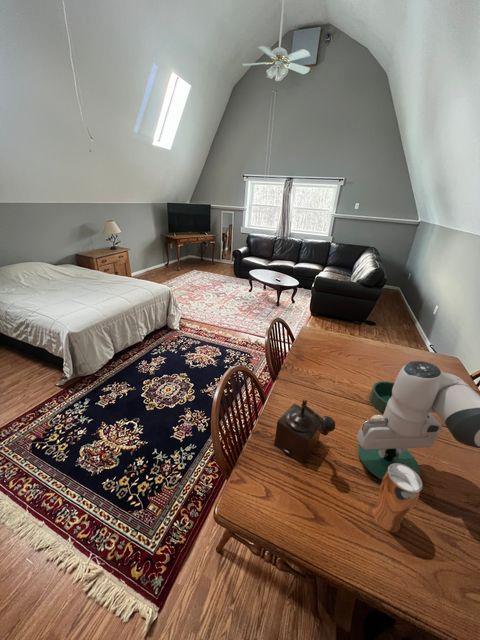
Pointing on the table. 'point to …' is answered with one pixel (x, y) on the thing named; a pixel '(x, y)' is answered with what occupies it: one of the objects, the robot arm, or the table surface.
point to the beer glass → (396, 496)
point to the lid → (385, 461)
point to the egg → (376, 417)
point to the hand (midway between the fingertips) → (388, 455)
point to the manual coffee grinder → (301, 431)
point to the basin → (381, 395)
